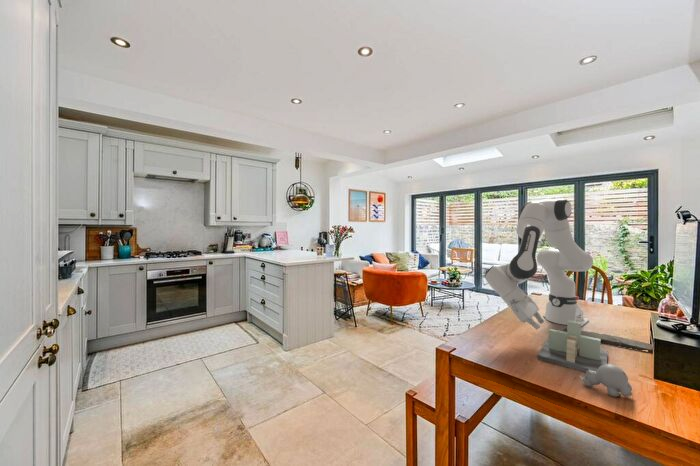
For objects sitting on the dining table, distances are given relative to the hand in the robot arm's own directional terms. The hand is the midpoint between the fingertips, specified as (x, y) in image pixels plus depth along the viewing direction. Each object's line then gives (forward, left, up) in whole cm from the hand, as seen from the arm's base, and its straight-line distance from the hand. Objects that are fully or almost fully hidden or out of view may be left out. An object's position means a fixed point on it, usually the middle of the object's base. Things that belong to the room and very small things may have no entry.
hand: (540, 325), depth 122 cm
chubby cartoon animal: (+14, +28, -10) cm, 33 cm away
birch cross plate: (-4, +10, -10) cm, 15 cm away
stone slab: (-36, +8, -11) cm, 39 cm away
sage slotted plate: (-4, +10, -8) cm, 14 cm away
